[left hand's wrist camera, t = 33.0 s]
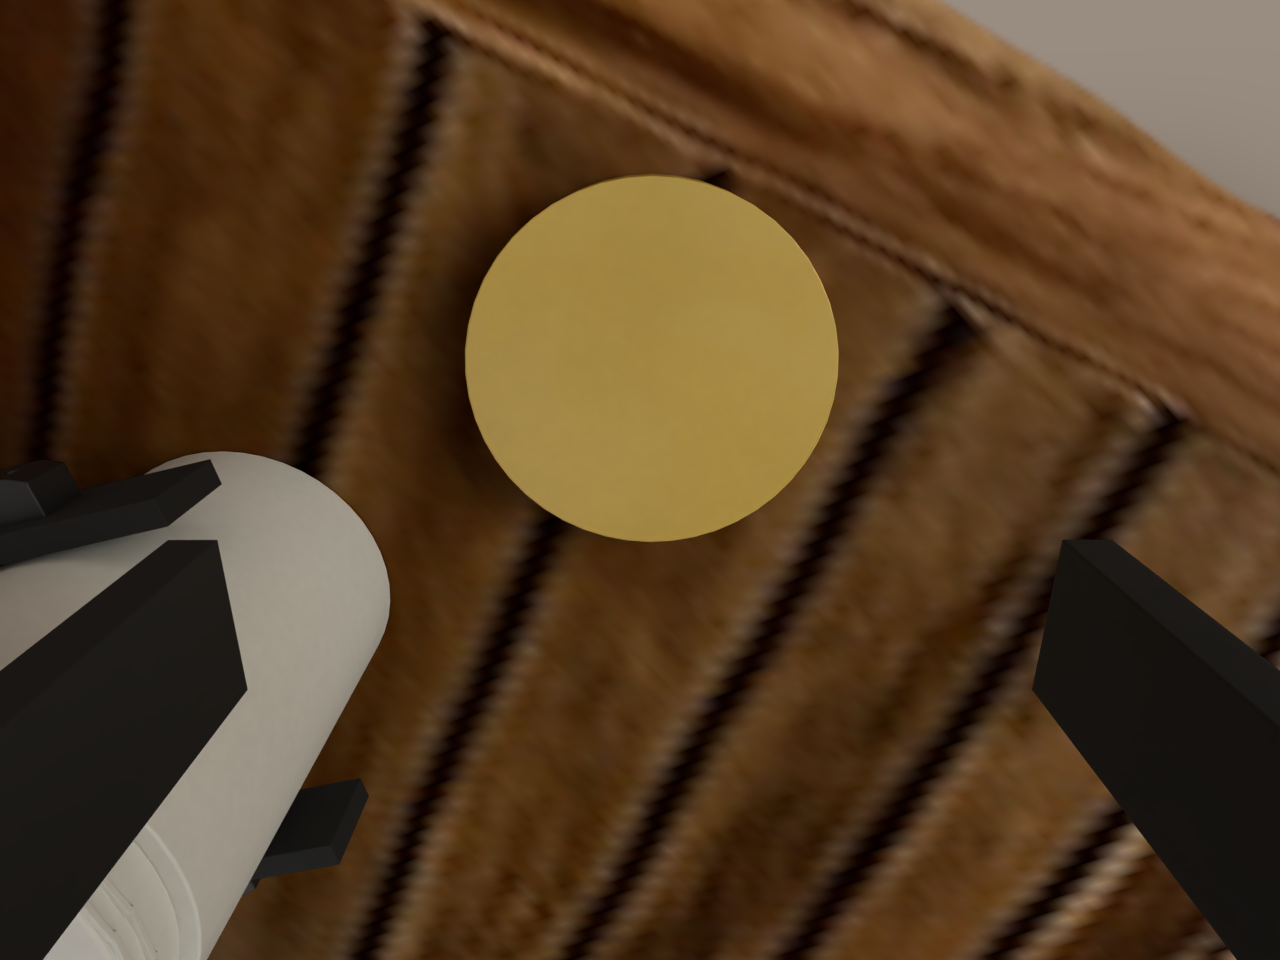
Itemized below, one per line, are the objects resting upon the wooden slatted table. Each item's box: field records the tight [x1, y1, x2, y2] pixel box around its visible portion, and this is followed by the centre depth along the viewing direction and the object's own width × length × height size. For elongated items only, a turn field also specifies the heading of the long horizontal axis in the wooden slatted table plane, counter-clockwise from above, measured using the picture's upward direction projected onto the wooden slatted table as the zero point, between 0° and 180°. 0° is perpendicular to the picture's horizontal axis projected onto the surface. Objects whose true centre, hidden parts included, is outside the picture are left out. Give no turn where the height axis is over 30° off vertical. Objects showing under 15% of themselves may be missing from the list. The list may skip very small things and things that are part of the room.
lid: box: [465, 174, 839, 542], centre depth 25 cm, size 11×11×2 cm
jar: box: [0, 451, 390, 960], centre depth 22 cm, size 10×10×15 cm
